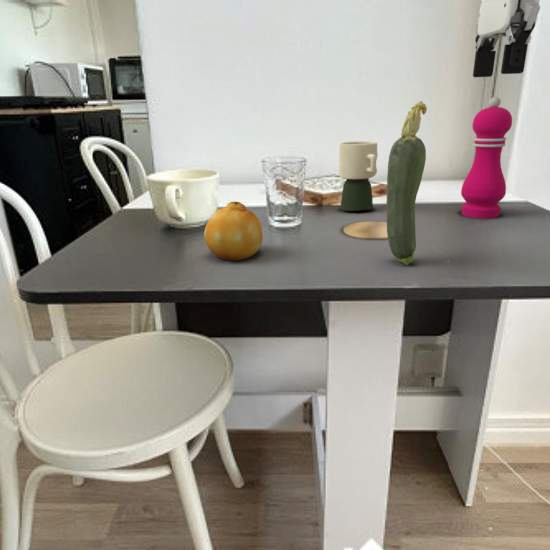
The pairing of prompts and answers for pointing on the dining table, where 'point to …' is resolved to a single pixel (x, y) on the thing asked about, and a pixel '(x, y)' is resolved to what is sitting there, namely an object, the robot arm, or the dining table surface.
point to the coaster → (367, 230)
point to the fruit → (233, 232)
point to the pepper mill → (487, 163)
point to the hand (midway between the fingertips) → (496, 75)
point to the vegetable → (405, 186)
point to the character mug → (357, 174)
